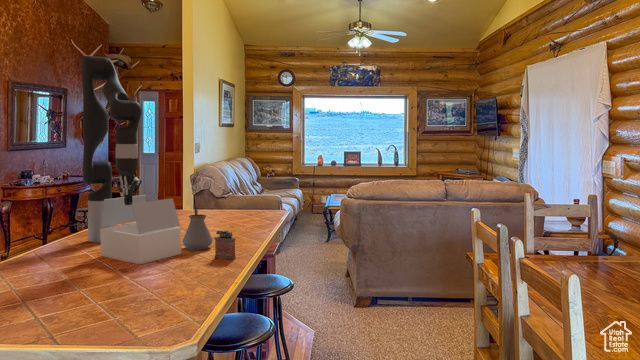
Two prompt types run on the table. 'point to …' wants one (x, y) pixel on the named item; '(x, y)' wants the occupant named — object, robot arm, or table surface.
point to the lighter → (225, 245)
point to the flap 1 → (119, 211)
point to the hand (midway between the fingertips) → (128, 204)
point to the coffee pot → (197, 233)
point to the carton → (139, 243)
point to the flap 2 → (155, 215)
